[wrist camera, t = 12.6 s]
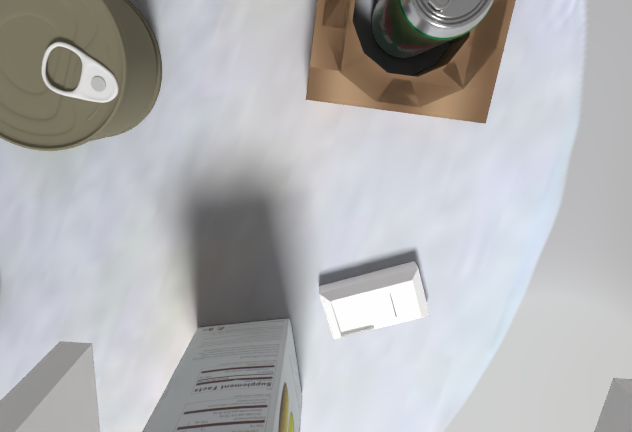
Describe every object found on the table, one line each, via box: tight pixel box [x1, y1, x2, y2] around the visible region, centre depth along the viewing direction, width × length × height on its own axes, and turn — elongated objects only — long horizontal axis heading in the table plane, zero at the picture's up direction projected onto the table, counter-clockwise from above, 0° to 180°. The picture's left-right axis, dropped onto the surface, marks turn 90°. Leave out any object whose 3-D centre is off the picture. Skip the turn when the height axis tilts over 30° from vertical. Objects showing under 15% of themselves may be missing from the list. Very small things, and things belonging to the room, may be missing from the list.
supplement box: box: [142, 319, 302, 432], centre depth 32 cm, size 10×9×17 cm
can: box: [0, 0, 162, 151], centre depth 29 cm, size 12×12×7 cm
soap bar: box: [319, 261, 430, 339], centre depth 37 cm, size 5×9×3 cm, turn 107°
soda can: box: [372, 0, 494, 58], centre depth 25 cm, size 5×5×12 cm
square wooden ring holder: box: [306, 0, 516, 123], centre depth 29 cm, size 13×13×4 cm
